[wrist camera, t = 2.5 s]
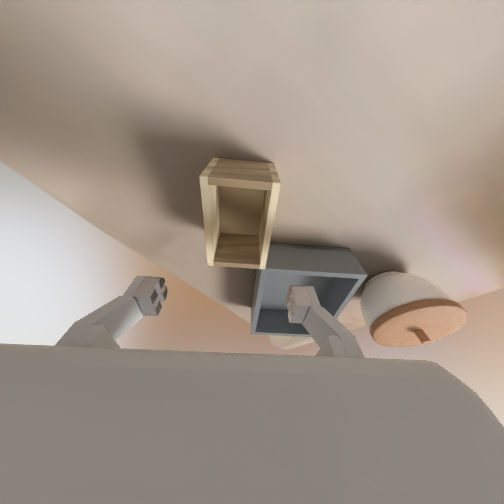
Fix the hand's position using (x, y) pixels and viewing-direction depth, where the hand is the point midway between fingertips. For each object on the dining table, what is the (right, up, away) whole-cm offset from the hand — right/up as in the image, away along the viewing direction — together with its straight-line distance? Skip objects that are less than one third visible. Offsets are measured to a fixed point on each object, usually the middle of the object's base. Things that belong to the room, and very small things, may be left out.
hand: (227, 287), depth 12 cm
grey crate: (+8, -3, +17) cm, 20 cm away
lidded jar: (+23, -3, +18) cm, 29 cm away
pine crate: (0, +8, +9) cm, 12 cm away
